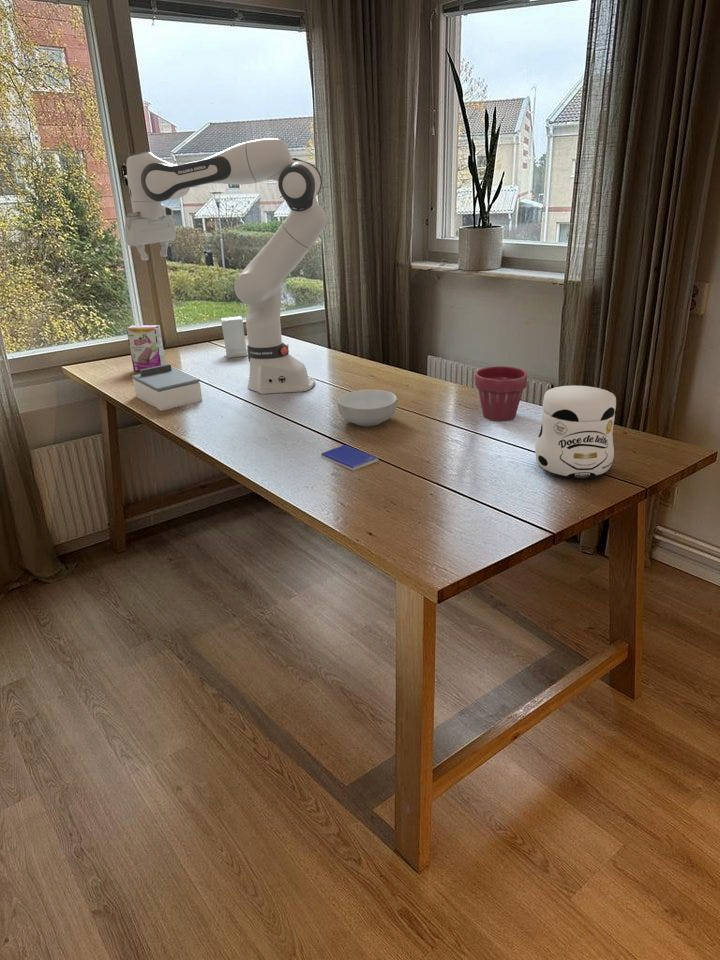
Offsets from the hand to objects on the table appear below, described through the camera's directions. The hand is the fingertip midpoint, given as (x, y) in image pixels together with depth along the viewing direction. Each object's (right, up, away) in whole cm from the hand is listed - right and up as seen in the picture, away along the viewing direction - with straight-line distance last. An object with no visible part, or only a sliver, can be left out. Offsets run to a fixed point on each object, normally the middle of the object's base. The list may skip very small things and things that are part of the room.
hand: (154, 258), depth 212 cm
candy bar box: (-13, -29, +39) cm, 50 cm away
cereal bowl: (+67, -53, -20) cm, 88 cm away
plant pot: (+104, -52, -20) cm, 118 cm away
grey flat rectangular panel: (+2, -38, +3) cm, 38 cm away
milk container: (+114, -68, -55) cm, 144 cm away
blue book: (+62, -65, -44) cm, 100 cm away
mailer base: (+3, -43, +6) cm, 44 cm away
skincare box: (+16, -21, +55) cm, 61 cm away
